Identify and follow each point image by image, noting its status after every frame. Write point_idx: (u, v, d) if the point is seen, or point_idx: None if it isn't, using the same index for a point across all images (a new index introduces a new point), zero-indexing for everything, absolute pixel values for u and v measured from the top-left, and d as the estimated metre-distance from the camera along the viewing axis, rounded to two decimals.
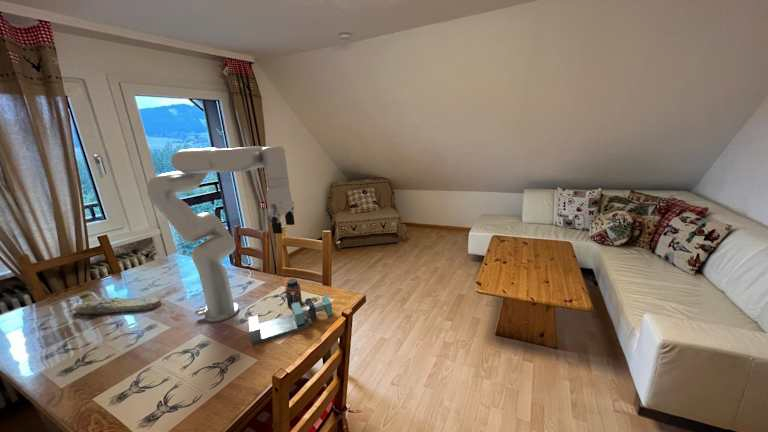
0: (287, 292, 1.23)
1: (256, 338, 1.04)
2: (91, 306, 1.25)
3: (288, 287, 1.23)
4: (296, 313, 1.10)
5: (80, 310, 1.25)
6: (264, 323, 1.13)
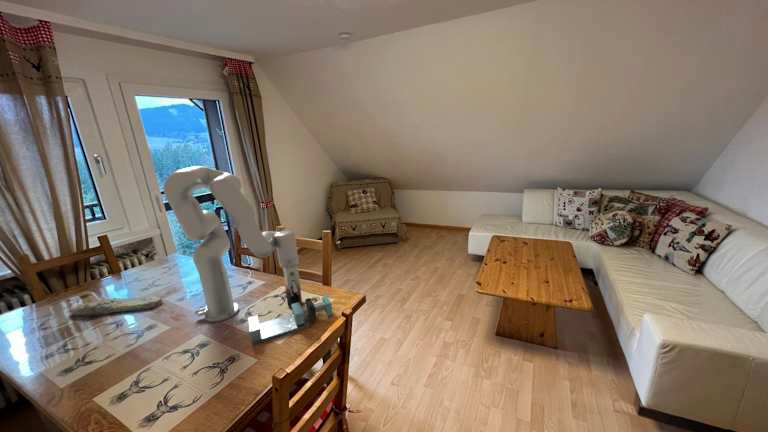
0: (287, 292, 1.23)
1: (256, 338, 1.04)
2: (90, 307, 1.24)
3: None
4: (296, 313, 1.10)
5: (78, 312, 1.24)
6: (264, 323, 1.13)
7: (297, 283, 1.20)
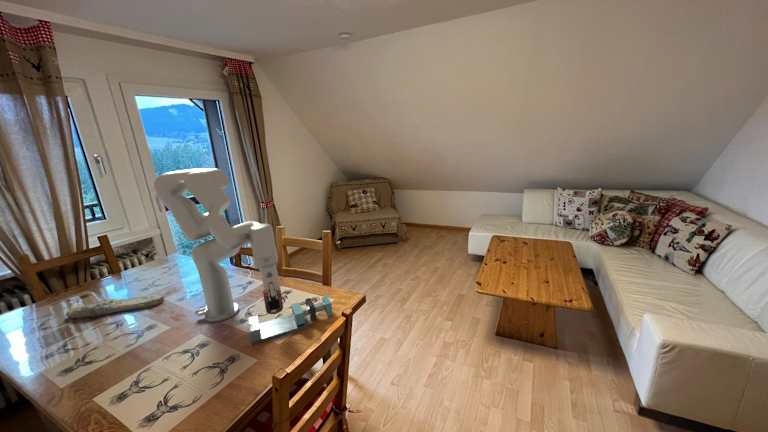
0: (265, 296, 1.05)
1: (256, 338, 1.04)
2: (89, 308, 1.23)
3: None
4: (296, 313, 1.10)
5: (76, 314, 1.22)
6: (264, 323, 1.13)
7: (275, 285, 1.02)
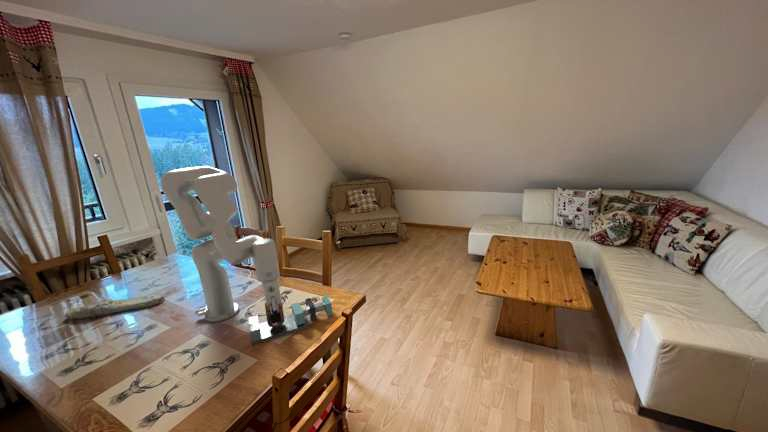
0: (266, 309, 1.06)
1: (256, 338, 1.04)
2: (89, 309, 1.23)
3: None
4: (296, 313, 1.10)
5: (75, 315, 1.22)
6: (264, 323, 1.13)
7: (277, 299, 1.04)
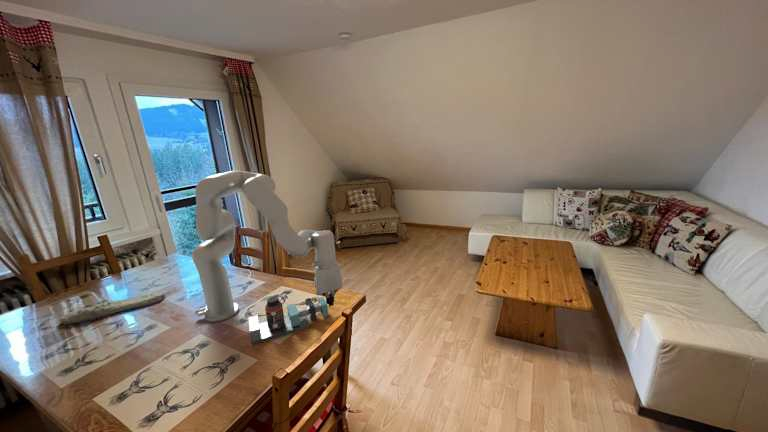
0: (267, 312, 1.07)
1: (256, 338, 1.04)
2: (90, 311, 1.21)
3: (268, 306, 1.07)
4: (291, 314, 1.09)
5: (74, 318, 1.19)
6: (264, 323, 1.13)
7: (316, 287, 1.13)
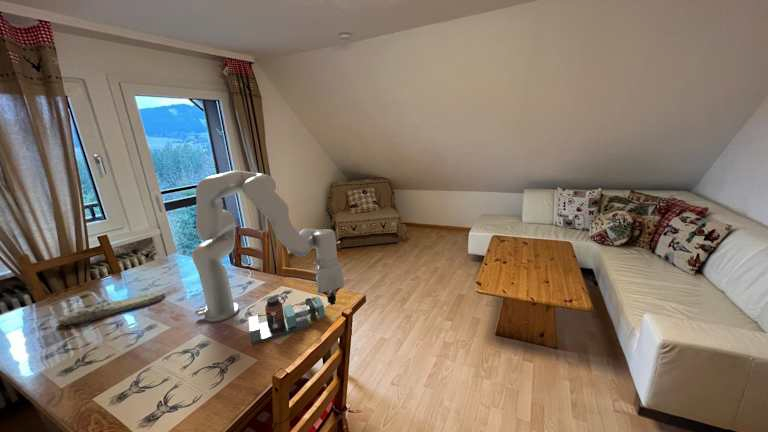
0: (267, 312, 1.07)
1: (256, 338, 1.04)
2: (90, 311, 1.21)
3: (268, 306, 1.07)
4: (288, 315, 1.09)
5: (74, 319, 1.19)
6: (264, 323, 1.13)
7: (317, 285, 1.13)
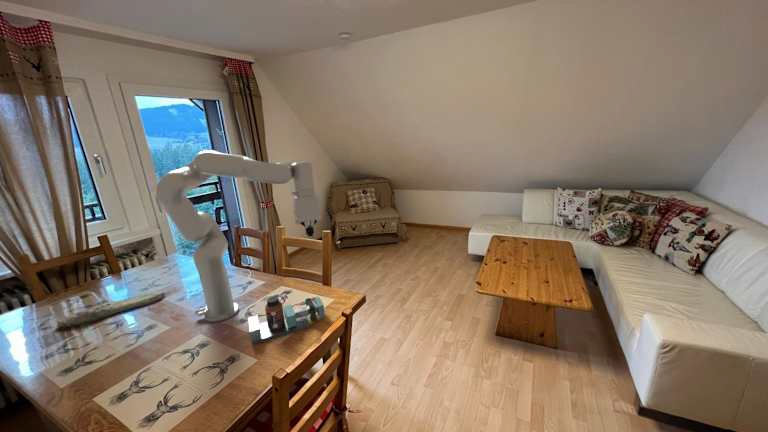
0: (267, 312, 1.07)
1: (256, 338, 1.04)
2: (91, 312, 1.20)
3: (268, 306, 1.07)
4: (288, 315, 1.09)
5: (74, 320, 1.18)
6: (264, 323, 1.13)
7: (295, 215, 1.18)
